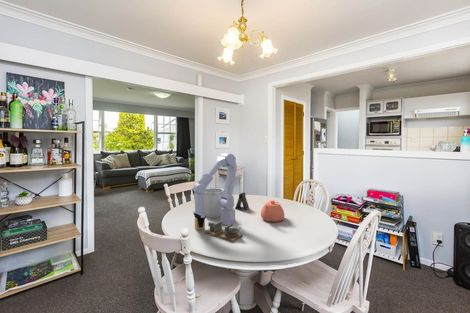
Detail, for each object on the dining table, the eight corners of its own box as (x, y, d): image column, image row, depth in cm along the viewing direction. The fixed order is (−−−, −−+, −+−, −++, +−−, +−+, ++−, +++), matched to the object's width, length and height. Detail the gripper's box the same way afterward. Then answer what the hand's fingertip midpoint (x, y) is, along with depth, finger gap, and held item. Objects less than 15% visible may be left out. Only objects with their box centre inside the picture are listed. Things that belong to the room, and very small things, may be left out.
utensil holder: (214, 219, 153) (214, 193, 151) (198, 215, 162) (198, 190, 160) (228, 213, 164) (228, 189, 163) (212, 209, 173) (212, 186, 172)
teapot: (276, 227, 140) (277, 207, 139) (253, 222, 148) (254, 203, 147) (288, 216, 158) (288, 198, 158) (267, 212, 167) (267, 195, 166)
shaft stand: (204, 233, 131) (204, 222, 130) (214, 228, 138) (214, 218, 138) (233, 242, 119) (233, 231, 119) (242, 236, 126) (242, 225, 126)
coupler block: (202, 226, 140) (202, 216, 140) (204, 228, 137) (204, 218, 136) (194, 227, 138) (194, 217, 138) (196, 230, 135) (196, 220, 134)
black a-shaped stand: (235, 208, 176) (235, 193, 175) (238, 206, 181) (238, 191, 180) (246, 210, 172) (246, 194, 171) (249, 208, 177) (249, 192, 176)
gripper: (189, 201, 141) (190, 222, 142) (196, 207, 128) (196, 231, 129) (201, 199, 144) (201, 221, 145) (208, 206, 131) (208, 229, 132)
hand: (199, 225), depth 138 cm, fingers closed on coupler block, 4 cm apart
